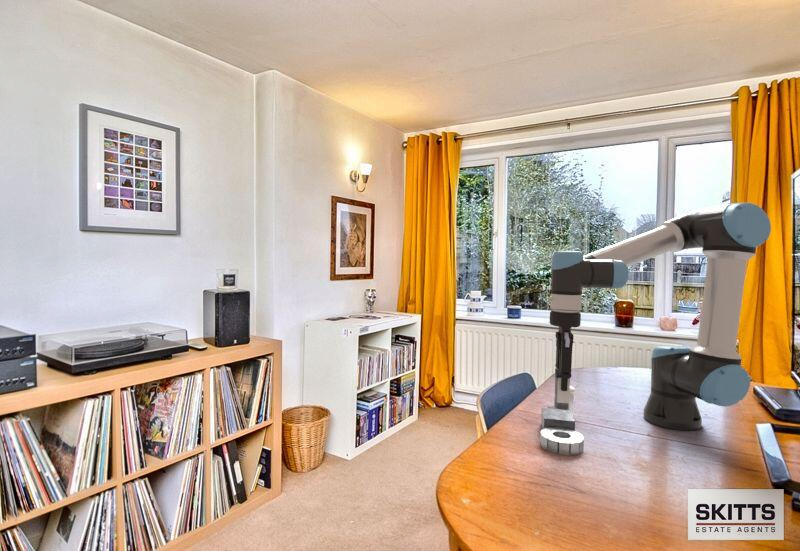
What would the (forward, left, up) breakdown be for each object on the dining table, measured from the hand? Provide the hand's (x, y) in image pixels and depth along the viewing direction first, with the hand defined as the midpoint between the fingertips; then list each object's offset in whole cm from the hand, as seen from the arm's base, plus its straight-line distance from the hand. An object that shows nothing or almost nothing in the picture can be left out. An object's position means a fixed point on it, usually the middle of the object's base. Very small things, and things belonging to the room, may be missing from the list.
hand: (561, 399), depth 115 cm
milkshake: (-5, -26, -13) cm, 29 cm away
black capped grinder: (0, 0, -2) cm, 2 cm away
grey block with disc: (0, -6, -12) cm, 14 cm away
